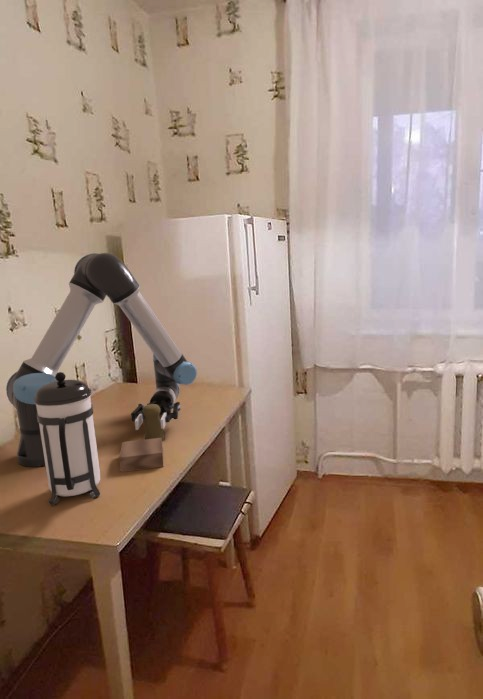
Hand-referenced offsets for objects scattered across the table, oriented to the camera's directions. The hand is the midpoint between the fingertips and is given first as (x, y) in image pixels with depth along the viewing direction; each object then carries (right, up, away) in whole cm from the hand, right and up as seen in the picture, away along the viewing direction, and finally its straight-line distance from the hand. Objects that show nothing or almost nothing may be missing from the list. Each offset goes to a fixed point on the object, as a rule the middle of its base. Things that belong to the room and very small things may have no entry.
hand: (149, 424), depth 147 cm
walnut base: (0, -9, -9) cm, 12 cm away
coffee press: (-13, -13, -25) cm, 31 cm away
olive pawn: (0, -6, +6) cm, 8 cm away
